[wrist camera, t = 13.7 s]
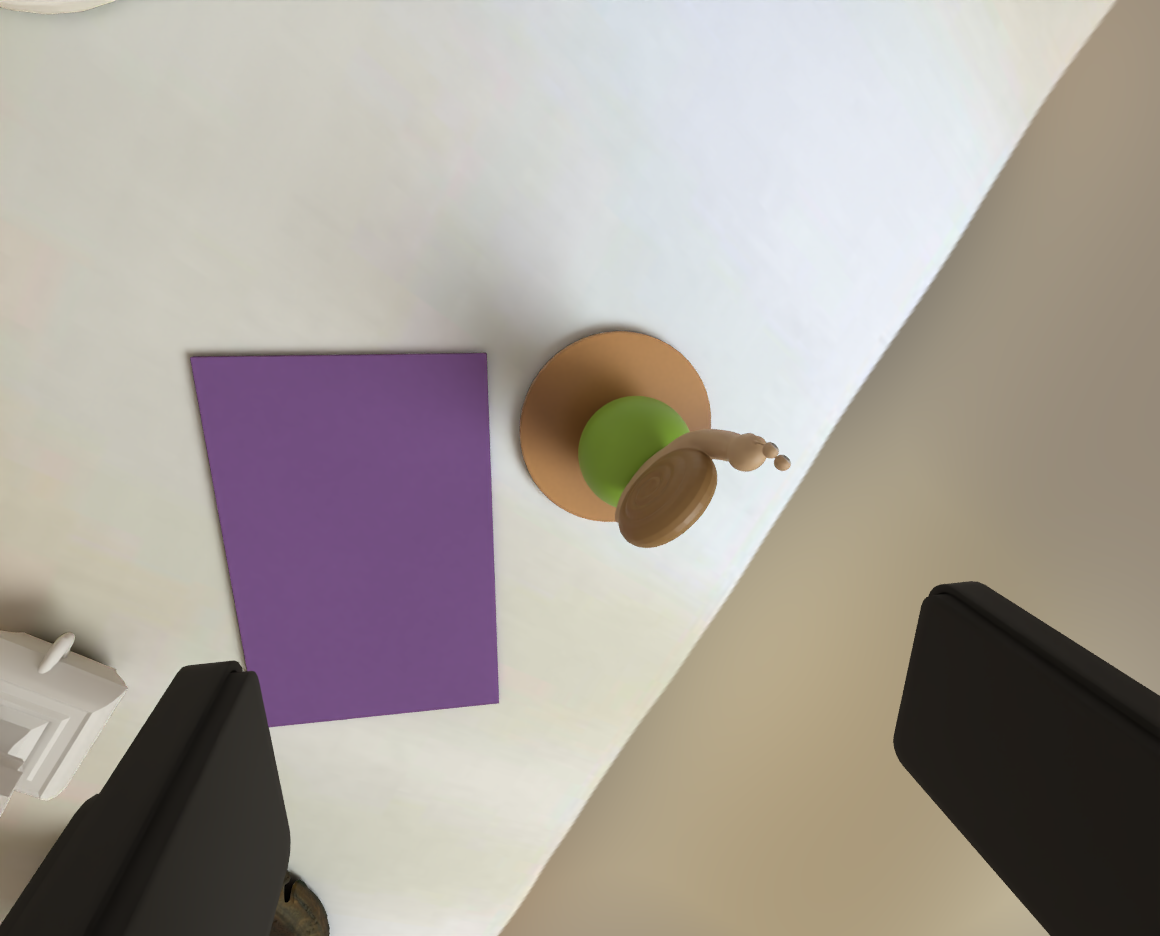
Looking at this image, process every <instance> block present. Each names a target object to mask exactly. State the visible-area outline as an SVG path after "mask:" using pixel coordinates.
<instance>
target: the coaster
mask: <svg viewBox="0 0 1160 936" xmlns="http://www.w3.org/2000/svg"><path fill="white" fill-rule="evenodd" d="M627 396H645V397H650V398H654V399H657V400H659V401H661V402H663V403H665V404H667V405H668V406H670V407H671V408H672V409H674V410H675V411H676V412H677V413H678V414H679V415H680V416H681V418H682V419H683V420H684V422H685V423H686V425H687V427H688V429H689V431H690V432H692V431H697V430H704V429H711V412H710V404H709V400H708V396H707V392H706V390H705V387H704V385H703V382H702V380H701V378H700V377H699V375H698V373H697V371H696V370H695V369H694V367H693V366H692V365H691V363H690V362H689V361H688V360H687V359H686V358H685V357H684V356H683V355H682V354H681V353H680V352H678V351H677V350H676V349H674V348H673V347H671V346H670V345H668V344H666V343H665V342H663V341H661V340H659V339H656V338H654V337H651V336H648V335H645V334H641V333H636V332H629V331H611V332H603V333H598V334H594V335H591V336H588V337H585V338H582V339H580V340H578V341H576V342H574V343H572V344H570V345H568V346H567V347H566V348H564V349H563V350H561V351H560V352H558V353H557V354H556V355H555V356H554V357H553V358H552V359H550V360H549V361H548V362H547V363H546V365H545V366H544V367H543V368H542V369H541V370H540V372H539V373H538V375H537V376H536V378H535V379H534V381H533V382H532V384H531V386H530V388H529V390H528V393H527V395H526V398H525V401H524V404H523V407H522V412H521V417H520V430H519V434H520V445H521V449H522V454H523V458H524V461H525V463H526V466H527V469H528V471H529V473H530V475H531V477H532V479H533V480H534V482H535V483H536V485H537V486H538V487H539V489H540V490H541V491H542V492H543V493H544V494H545V495H546V496H547V497H548V498H549V499H550V500H551V501H552V502H554V503H555V504H556V505H557V506H559V507H560V508H562V509H564V510H566V511H567V512H569V513H572V514H574V515H576V516H579V517H582V518H586V519H590V520H595V521H603V522H616V520H615V512H616V507H613V506H611V505H609V504H607V503H605V502H604V501H603V500H601V499H600V498H599V497H597V496H596V495H595V494H594V493H593V491H592V490H591V489H590V488H589V486H588V485H587V483H586V482H585V480H584V478H583V475H582V473H581V470H580V466H579V459H578V448H579V442H580V438H581V435H582V432H583V430H584V428H585V426H586V424H587V422H588V421H589V419H590V418H591V417H592V416H593V415H594V414H595V412H597V411H598V410H599V409H600V408H601V407H603V406H604V405H606V404H607V403H609V402H611V401H613V400H616V399H619V398H622V397H627Z"/></svg>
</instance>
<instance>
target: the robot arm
mask: <svg viewBox="0 0 1160 936" xmlns="http://www.w3.org/2000/svg"><path fill="white" fill-rule="evenodd" d="M114 1H116V0H0V7H2V8H5V9H9V10H14V11H22V12H31V13H40V14H59V13H71V12H83V11H86V10H89V9H92V8H95V7H98V6H102V5H105V4H108V3H111V2H114ZM893 743H894V749H895V752H896V755H897V757H898V759H899V761H900V762H901V763H902V765H903V766H904V767H905V769H906V770H907V771H908V772H909V773H910V774H911V775H912V777H913V778H914V779H915V780H916V781H917V782H918V784H919V785H920V786H921V787H922V788H923V789H924V790H925V792H926V793H927V794H928V795H929V796H930V797H931V799H932V800H933V801H934V802H935V803H936V804H937V805H938V807H939V808H940V809H941V810H942V811H943V812H944V814H945V815H946V816H947V817H948V818H949V819H950V820H951V822H952V823H953V824H954V825H955V826H956V827H957V829H958V830H959V831H960V832H961V833H962V834H963V835H964V837H965V838H966V839H967V840H968V841H969V842H970V843H971V845H972V846H973V847H974V848H975V849H976V850H977V851H978V853H979V854H980V855H981V856H982V857H983V858H984V860H985V861H986V862H987V863H988V864H989V865H990V867H991V868H992V869H993V870H994V871H995V872H996V873H997V874H998V876H999V877H1000V878H1001V879H1002V880H1003V882H1004V883H1005V884H1006V885H1007V886H1008V887H1009V888H1010V889H1011V891H1012V892H1013V893H1014V894H1015V895H1016V897H1017V898H1018V899H1019V900H1020V901H1021V902H1022V903H1023V904H1024V906H1025V907H1026V908H1027V909H1028V910H1029V911H1030V913H1031V914H1032V915H1033V916H1034V917H1035V918H1036V919H1037V920H1038V922H1039V923H1040V924H1041V925H1042V926H1043V927H1044V929H1045V930H1046V931H1047V932H1048V933H1049V935H1050V936H1160V696H1159V695H1157V694H1156V693H1154V692H1153V691H1151V690H1150V689H1148V688H1146V687H1145V686H1143V685H1142V684H1140V683H1139V682H1137V681H1135V680H1134V679H1132V678H1131V677H1129V676H1127V675H1126V674H1124V673H1123V672H1121V671H1120V670H1118V669H1116V668H1115V667H1113V666H1112V665H1110V664H1109V663H1107V662H1106V661H1104V660H1102V659H1101V658H1099V657H1098V656H1096V655H1094V654H1093V653H1091V652H1090V651H1088V650H1086V649H1085V648H1083V647H1082V646H1080V645H1079V644H1077V643H1075V642H1074V641H1072V640H1071V639H1069V638H1068V637H1066V636H1065V635H1063V634H1061V633H1060V632H1058V631H1057V630H1055V629H1053V628H1052V627H1050V626H1049V625H1047V624H1045V623H1044V622H1043V621H1041V620H1039V619H1038V618H1036V617H1035V616H1033V615H1031V614H1030V613H1028V612H1027V611H1025V610H1024V609H1022V608H1020V607H1019V606H1017V605H1016V604H1014V603H1012V602H1011V601H1009V600H1008V599H1006V598H1005V597H1003V596H1002V595H1000V594H998V593H997V592H995V591H994V590H992V589H991V588H989V587H987V586H986V585H984V584H981V583H979V582H973V581H970V582H961V583H951V584H942V585H938V586H936V587H934V588H933V589H932V591H931V592H930V594H929V596H928V597H926V599H924V601H923V603H922V605H921V611H920V615H919V619H918V624H917V629H916V633H915V638H914V643H913V648H912V652H911V657H910V662H909V667H908V671H907V676H906V681H905V685H904V690H903V695H902V700H901V704H900V709H899V714H898V719H897V723H896V728H895V733H894V739H893ZM289 856H290V829H289V825H288V820H287V815H286V810H285V805H284V800H283V795H282V790H281V785H280V781H279V776H278V771H277V766H276V761H275V756H274V751H273V746H272V742H271V737H270V732H269V727H268V722H267V717H266V712H265V707H264V702H263V698H262V693H261V688H260V683H259V679H258V676H257V674H256V672H254V671H245V672H243V670H242V667H241V666H240V664H239V663H238V662H237V661H226V662H216V663H207V664H198V665H188V666H185V667H182V668H181V670H180V671H179V672H178V673H177V674H176V676H175V678H174V679H173V681H172V682H171V684H170V685H169V687H168V688H167V690H166V691H165V693H164V695H163V696H162V698H161V699H160V701H159V702H158V704H157V705H156V707H155V708H154V710H153V712H152V713H151V715H150V716H149V718H148V719H147V721H146V722H145V724H144V725H143V727H142V729H141V730H140V732H139V733H138V735H137V736H136V738H135V739H134V741H133V742H132V744H131V746H130V747H129V749H128V750H127V752H126V753H125V755H124V756H123V758H122V759H121V761H120V763H119V764H118V766H117V767H116V769H115V770H114V772H113V773H112V775H111V776H110V778H109V780H108V781H107V783H106V784H105V786H104V787H103V789H102V790H101V792H100V793H99V794H96V795H94V796H93V797H91V798H90V799H88V800H87V801H85V802H84V804H83V805H82V806H81V807H80V808H79V810H78V811H77V812H76V813H75V814H74V816H73V817H72V819H71V820H70V822H69V823H68V825H67V826H66V828H65V829H64V831H63V832H62V834H61V835H60V837H59V838H58V840H57V841H56V843H55V844H54V846H53V847H52V849H51V850H50V852H49V853H48V855H47V856H46V858H45V859H44V861H43V862H42V864H41V865H40V867H39V868H38V870H37V871H36V873H35V874H34V876H33V877H32V879H31V880H30V882H29V883H28V885H27V886H26V888H25V889H24V891H23V892H22V894H21V895H20V897H19V898H18V900H17V901H16V903H15V904H14V906H13V907H12V909H11V910H10V912H9V913H8V915H7V916H6V918H5V919H4V921H3V922H2V924H1V925H0V936H269V934H270V931H271V927H272V923H273V919H274V916H275V912H276V908H277V904H278V901H279V897H280V893H281V889H282V886H283V882H284V878H285V874H286V871H287V867H288V862H289Z"/></svg>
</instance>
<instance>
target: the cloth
mask: <svg viewBox="0 0 1160 936" xmlns="http://www.w3.org/2000/svg"><path fill="white" fill-rule="evenodd" d="M190 360H191V366H192V371H193V377H194V382H195V388H196V393H197V399H198V404H199V409H200V415H201V420H202V426H203V431H204V437H205V442H206V448H207V453H208V459H209V464H210V470H211V475H212V481H213V486H214V492H215V497H216V503H217V508H218V514H219V519H220V525H221V530H222V536H223V541H224V547H225V552H226V558H227V563H228V569H229V574H230V580H231V585H232V591H233V596H234V602H235V607H236V613H237V618H238V624H239V629H240V635H241V640H242V646H243V651H244V657H245V662H246V668H247V671H254V672H256V674H257V676H258V679H259V683H260V688H261V693H262V698H263V702H264V707H265V712H266V717H267V722H268V727H276V726H285V725H295V724H304V723H314V722H324V721H333V720H343V719H352V718H362V717H371V716H381V715H390V714H400V713H410V712H419V711H429V710H438V709H448V708H457V707H467V706H476V705H486V704H496V703H499V689H498V661H497V633H496V604H495V576H494V548H493V519H492V491H491V462H490V434H489V406H488V377H487V354H486V353H440V354H358V355H276V356H193V357H190Z"/></svg>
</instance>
